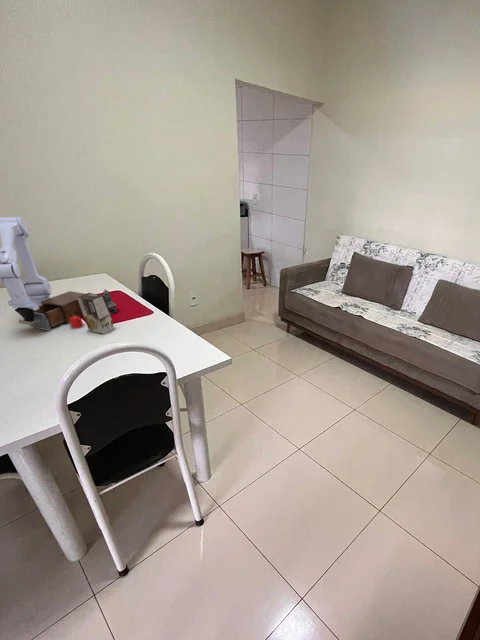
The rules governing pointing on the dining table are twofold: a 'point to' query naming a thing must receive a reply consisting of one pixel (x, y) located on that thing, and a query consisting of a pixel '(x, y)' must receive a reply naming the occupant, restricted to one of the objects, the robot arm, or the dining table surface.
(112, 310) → the grey statue
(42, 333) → the dining table surface
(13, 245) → the robot arm
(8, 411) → the dining table surface
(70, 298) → the cabinet
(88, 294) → the coffee box
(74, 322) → the pepper
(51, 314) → the drawer
